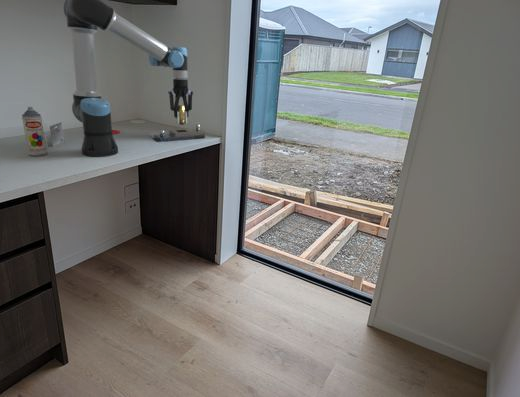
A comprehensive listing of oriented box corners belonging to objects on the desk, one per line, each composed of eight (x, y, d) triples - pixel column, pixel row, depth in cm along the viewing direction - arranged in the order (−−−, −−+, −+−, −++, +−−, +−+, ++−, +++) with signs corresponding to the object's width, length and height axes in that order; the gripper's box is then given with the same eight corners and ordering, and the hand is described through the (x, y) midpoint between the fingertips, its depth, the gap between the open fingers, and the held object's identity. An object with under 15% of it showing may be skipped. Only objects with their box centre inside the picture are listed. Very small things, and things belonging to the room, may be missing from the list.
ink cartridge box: (47, 147, 168) (44, 126, 164) (59, 141, 178) (56, 121, 175) (53, 147, 168) (49, 126, 164) (64, 142, 178) (61, 122, 175)
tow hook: (109, 131, 209) (100, 133, 200) (107, 108, 205) (98, 109, 196) (123, 132, 208) (114, 135, 199) (121, 109, 204) (113, 111, 195)
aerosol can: (29, 157, 151) (20, 108, 144) (28, 153, 156) (19, 106, 149) (48, 155, 155) (40, 108, 147) (46, 151, 160) (38, 105, 152)
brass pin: (179, 124, 195) (179, 106, 192) (176, 123, 198) (176, 104, 195) (186, 124, 198) (186, 105, 194) (183, 123, 201) (183, 104, 197)
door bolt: (160, 141, 190) (159, 128, 187) (154, 138, 197) (153, 125, 194) (204, 138, 204) (204, 125, 201) (197, 135, 211) (197, 123, 208)
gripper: (192, 78, 197) (193, 121, 205) (162, 77, 188) (164, 123, 196) (198, 79, 191) (198, 123, 200) (167, 79, 182) (169, 125, 190)
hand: (181, 123), depth 198 cm, fingers closed on brass pin, 4 cm apart
